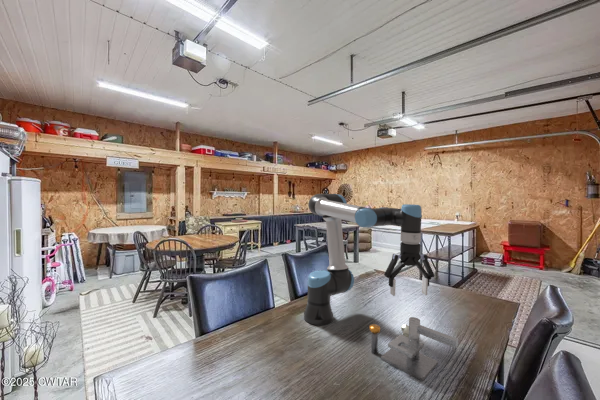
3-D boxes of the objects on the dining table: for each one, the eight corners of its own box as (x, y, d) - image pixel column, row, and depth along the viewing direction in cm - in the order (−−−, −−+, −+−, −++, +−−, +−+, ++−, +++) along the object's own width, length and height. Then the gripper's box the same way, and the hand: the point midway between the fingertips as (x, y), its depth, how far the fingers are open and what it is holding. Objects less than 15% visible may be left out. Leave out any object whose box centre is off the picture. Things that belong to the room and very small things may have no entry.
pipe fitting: (407, 343, 112) (419, 340, 114) (406, 335, 112) (419, 331, 114) (395, 334, 120) (407, 331, 122) (394, 326, 120) (407, 322, 122)
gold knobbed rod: (366, 352, 105) (367, 326, 105) (372, 348, 108) (373, 323, 108) (376, 357, 102) (376, 330, 102) (381, 352, 105) (382, 327, 105)
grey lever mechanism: (379, 360, 100) (380, 321, 100) (398, 345, 110) (398, 310, 110) (443, 394, 83) (445, 348, 83) (459, 373, 93) (460, 332, 93)
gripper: (384, 244, 100) (383, 298, 100) (445, 244, 102) (443, 297, 103) (377, 240, 107) (375, 291, 108) (433, 240, 110) (431, 290, 110)
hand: (408, 294), depth 105 cm, fingers open, 13 cm apart
